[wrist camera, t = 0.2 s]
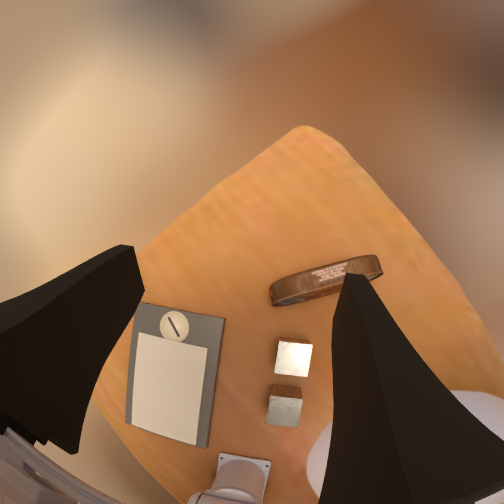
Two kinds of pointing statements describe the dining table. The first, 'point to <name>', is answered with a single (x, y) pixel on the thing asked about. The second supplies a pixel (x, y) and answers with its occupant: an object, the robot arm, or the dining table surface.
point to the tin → (322, 280)
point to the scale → (173, 372)
